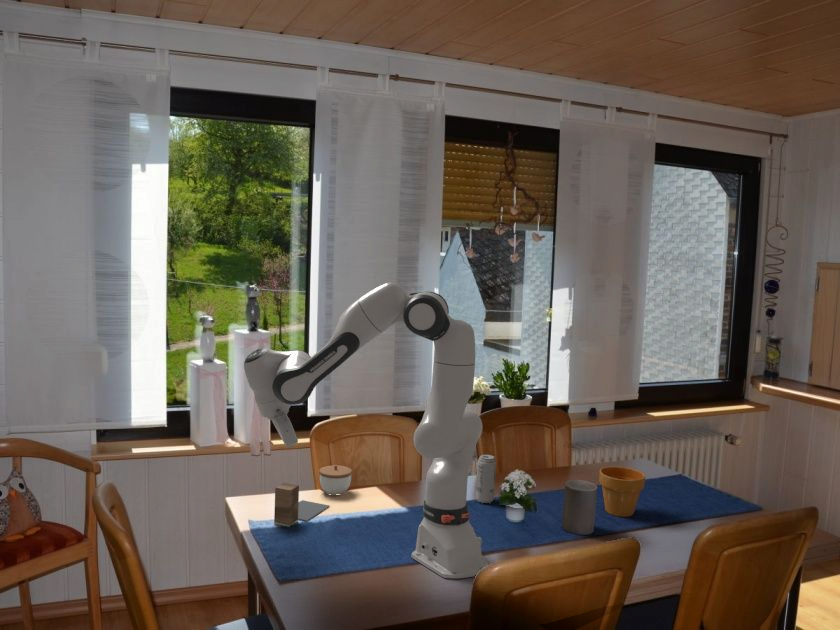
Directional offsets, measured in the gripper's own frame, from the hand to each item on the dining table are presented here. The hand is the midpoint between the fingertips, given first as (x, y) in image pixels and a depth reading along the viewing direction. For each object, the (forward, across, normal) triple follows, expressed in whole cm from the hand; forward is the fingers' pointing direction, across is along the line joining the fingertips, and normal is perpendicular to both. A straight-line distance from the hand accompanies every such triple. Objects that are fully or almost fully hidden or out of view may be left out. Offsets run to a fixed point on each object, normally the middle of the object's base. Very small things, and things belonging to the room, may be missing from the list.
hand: (290, 444), depth 210 cm
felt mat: (+28, +9, +2) cm, 29 cm away
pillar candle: (+51, -28, -69) cm, 90 cm away
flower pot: (+61, -20, -88) cm, 109 cm away
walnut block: (+24, +2, +9) cm, 26 cm away
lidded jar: (+35, +22, -9) cm, 43 cm away
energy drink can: (+49, +1, -52) cm, 72 cm away
